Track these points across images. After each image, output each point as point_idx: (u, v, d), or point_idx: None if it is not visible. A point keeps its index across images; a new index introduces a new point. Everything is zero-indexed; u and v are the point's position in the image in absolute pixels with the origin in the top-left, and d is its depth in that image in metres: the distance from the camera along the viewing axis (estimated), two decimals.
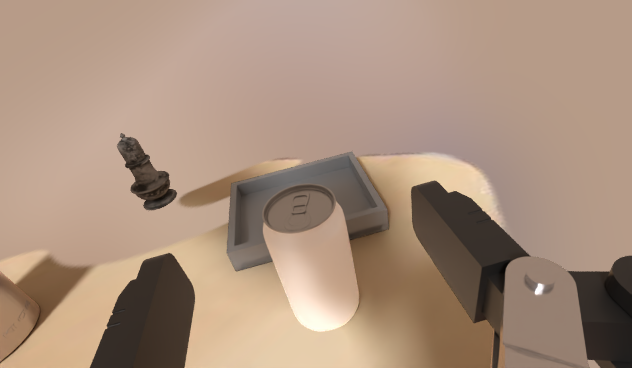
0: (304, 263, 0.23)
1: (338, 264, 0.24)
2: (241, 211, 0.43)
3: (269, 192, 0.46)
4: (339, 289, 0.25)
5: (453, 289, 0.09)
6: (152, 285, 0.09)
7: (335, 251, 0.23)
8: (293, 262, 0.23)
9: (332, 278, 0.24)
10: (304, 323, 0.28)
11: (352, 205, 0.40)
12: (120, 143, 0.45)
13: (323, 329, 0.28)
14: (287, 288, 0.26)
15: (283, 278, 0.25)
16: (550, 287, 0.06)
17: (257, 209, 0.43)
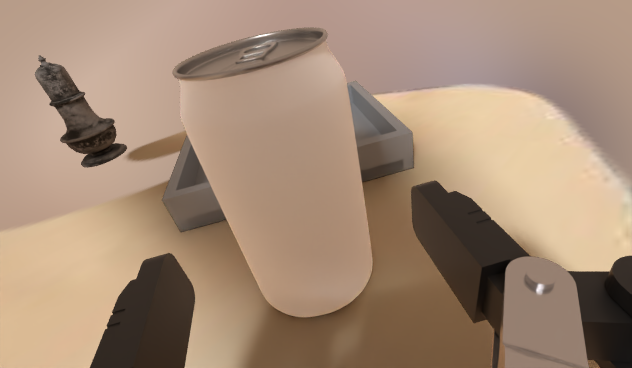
0: (258, 157, 0.10)
1: (334, 172, 0.12)
2: None
3: None
4: (337, 231, 0.13)
5: (453, 289, 0.09)
6: (152, 285, 0.09)
7: (327, 138, 0.11)
8: (235, 157, 0.10)
9: (321, 202, 0.12)
10: (275, 303, 0.16)
11: (357, 141, 0.27)
12: (38, 69, 0.33)
13: (309, 313, 0.15)
14: (236, 231, 0.13)
15: (226, 208, 0.13)
16: (550, 287, 0.06)
17: None
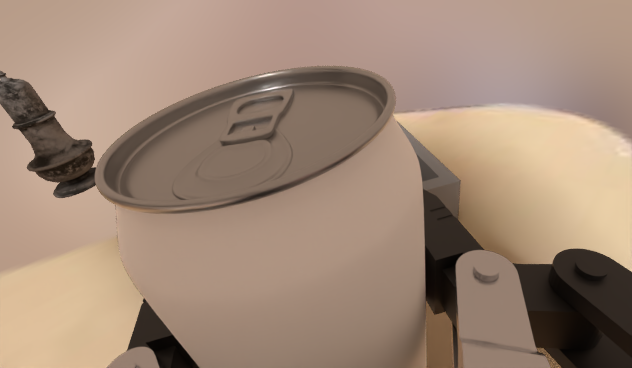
0: (264, 349, 0.05)
1: (400, 336, 0.06)
2: None
3: None
4: None
5: None
6: None
7: (395, 292, 0.06)
8: (216, 346, 0.05)
9: None
10: None
11: None
12: None
13: None
14: None
15: None
16: (494, 278, 0.07)
17: None
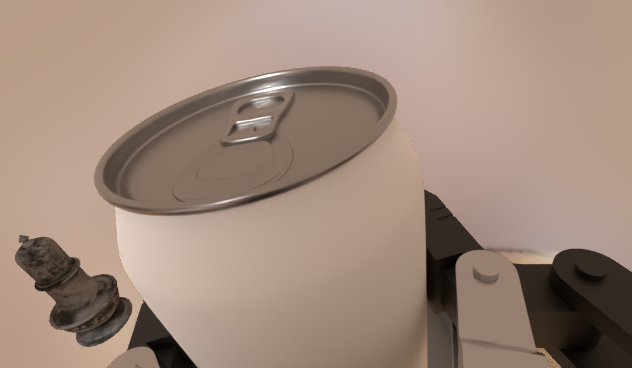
0: (264, 352, 0.05)
1: (401, 338, 0.06)
2: None
3: None
4: None
5: None
6: None
7: (397, 294, 0.06)
8: (217, 348, 0.05)
9: None
10: None
11: None
12: (19, 253, 0.26)
13: None
14: None
15: None
16: (494, 278, 0.07)
17: None
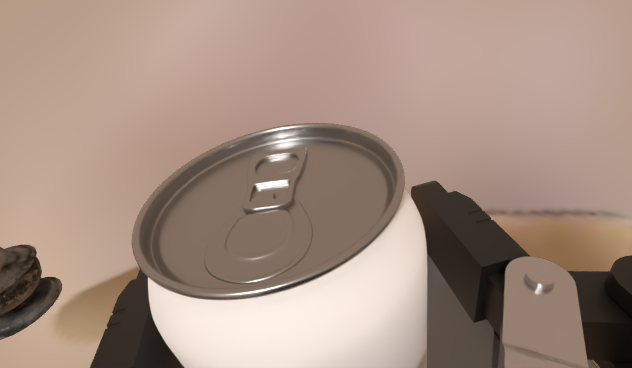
0: None
1: None
2: None
3: None
4: None
5: (453, 289, 0.09)
6: None
7: (402, 350, 0.06)
8: None
9: None
10: None
11: None
12: None
13: None
14: None
15: None
16: (550, 287, 0.06)
17: None
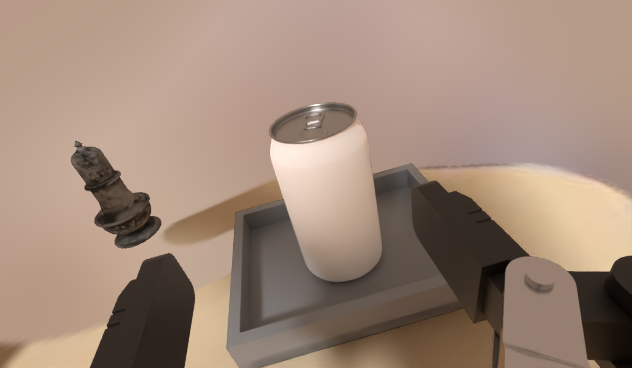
0: (320, 183, 0.19)
1: (360, 190, 0.20)
2: (250, 256, 0.28)
3: (291, 225, 0.31)
4: (361, 225, 0.21)
5: (453, 289, 0.09)
6: (152, 285, 0.09)
7: (357, 171, 0.19)
8: (307, 183, 0.19)
9: (353, 208, 0.20)
10: (319, 273, 0.24)
11: None
12: (74, 155, 0.31)
13: (342, 279, 0.24)
14: (299, 226, 0.22)
15: (294, 211, 0.21)
16: (550, 287, 0.06)
17: (275, 254, 0.28)
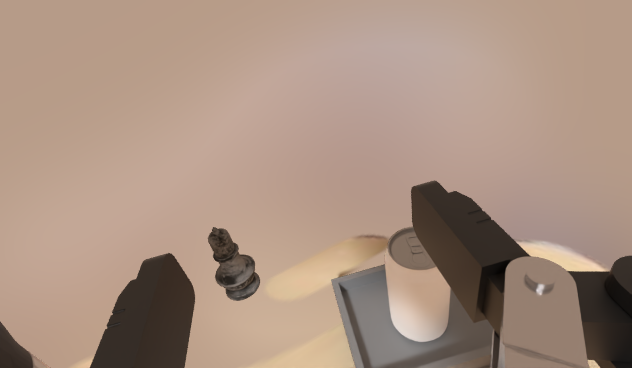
0: (426, 291, 0.30)
1: (446, 291, 0.32)
2: (348, 316, 0.40)
3: (372, 289, 0.42)
4: (443, 309, 0.33)
5: (453, 289, 0.09)
6: (152, 285, 0.09)
7: None
8: (417, 291, 0.30)
9: (441, 301, 0.32)
10: (408, 335, 0.35)
11: None
12: (212, 238, 0.42)
13: (424, 340, 0.35)
14: (401, 309, 0.33)
15: (401, 301, 0.32)
16: (550, 287, 0.06)
17: (366, 314, 0.40)
